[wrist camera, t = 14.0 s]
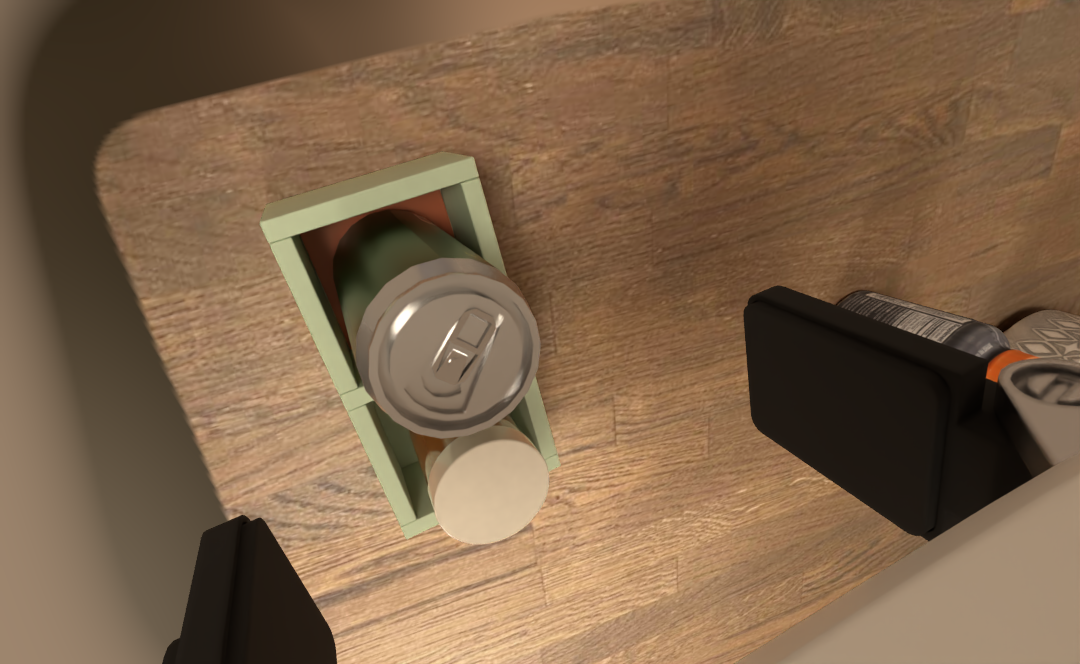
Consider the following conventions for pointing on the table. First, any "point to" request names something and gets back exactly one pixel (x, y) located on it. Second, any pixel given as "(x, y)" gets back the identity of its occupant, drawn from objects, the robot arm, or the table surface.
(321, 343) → the divided tray
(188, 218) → the table surface
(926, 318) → the pill bottle
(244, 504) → the table surface
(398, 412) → the guarana soda can
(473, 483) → the spice jar
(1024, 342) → the planter
